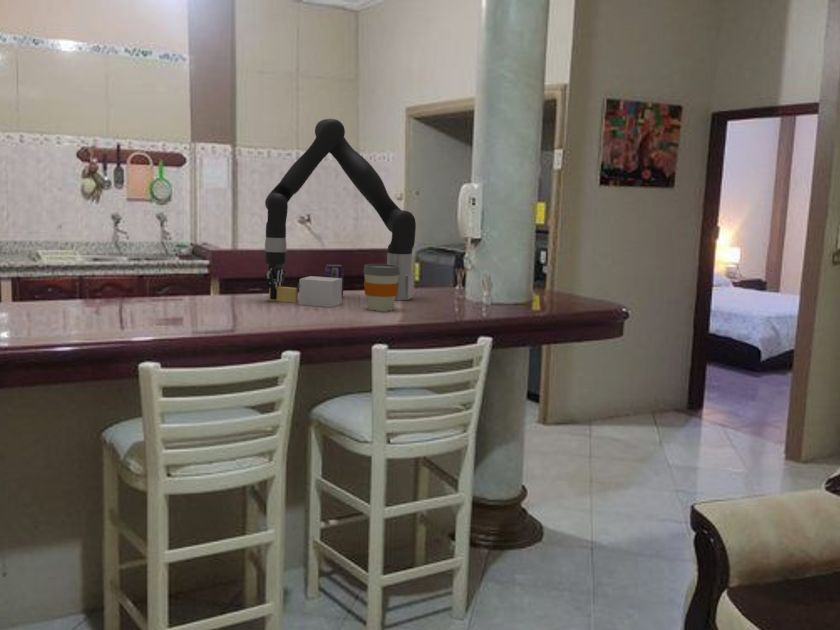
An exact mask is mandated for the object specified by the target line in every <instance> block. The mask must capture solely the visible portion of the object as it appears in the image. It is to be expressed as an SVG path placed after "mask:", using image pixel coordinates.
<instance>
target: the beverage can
mask: <svg viewBox="0 0 840 630" xmlns="http://www.w3.org/2000/svg"><path fill="white" fill-rule="evenodd" d="M344 273H345V272H344V268H343V265H342V264H338V263H337V264H335V263H334V264H331V263H329V264H326V265H325V268H324V277H329V278H342V297H343V295H344V278H345V277H344Z"/></svg>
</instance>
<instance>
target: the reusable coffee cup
mask: <svg viewBox="0 0 840 630" xmlns="http://www.w3.org/2000/svg"><path fill="white" fill-rule="evenodd" d="M362 273H363V274H364V275H363V276H364V281H363V285H364V295H365V297H366V306H367V307H366V308H367V310H370V311H374V310H376V311H375V312H389V311H388V310H391V311H393V310H394V308H395V302H396V301H395V296H397V291H398V285H399V283H398V278H399V275H400V268H399V266H397V265H389V264H387V263H386V264H385V263H367V264H364V267H363V272H362Z"/></svg>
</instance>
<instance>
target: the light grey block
mask: <svg viewBox="0 0 840 630" xmlns="http://www.w3.org/2000/svg"><path fill="white" fill-rule="evenodd" d="M297 288H298V291H299V292H298V305H300V306H310V307H311V306H312V307H321V308H322V307H324V308H334V307H337V306H338V305H341V304H342V297H343V296H342V278H329V277H325V276H314V275H313V276H312V275H309V276H305V277H302V278H299V283H297Z"/></svg>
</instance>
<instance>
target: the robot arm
mask: <svg viewBox="0 0 840 630" xmlns="http://www.w3.org/2000/svg"><path fill="white" fill-rule="evenodd" d="M345 134H346V130H345V127H344V124H343V123H342V122H341V121H340V120H338V119H335V118H326V119H322V120H320V121H318V122H317V124H315V128H314V135H315V139H314V140H313V141H312V143H311V144H310V146H309V147H308V148H307V150H306V151H305V152H303V154H302V155H301V156H300V157H299V158H298V159H297V160H296V161H295V162H294V163H293V164H292V166H290V168H288V171H287V172H286V173H285V174H284V176H283V177H282V178H281V180H280V182H278V183H277V185H276V186H275V187H274V188H273V189H272V190H271V191H270V192H269V193H268V195H267V196H266V198H265V201H264V205H265V208H266V209H267V222H266V225H265V239H264V263H265V264H266V265H268V267H267V268H268V269H267V272H264V279H265V283H266V287H267V288H270V299H274V300H275V299H276V298H277V286H278V287H283V285H284V280H285V276H286V270H284V269H283V265H286V264H287V238H286V237H287V224H286V223H287V219H288V207H289V204H288V203H289V202H290V200H291V199H292V197H293V196H295V195H296V194H297V193H298V192H299V191H300V190H301V188H302V187H303V186H304V184H305V183H306V182H307V180H308V179H309V178H310V176H311V175H312V174H313V172H314V171H315V170H316V168H317V167H318V166H319V164H320V163H321V162H322V161H323V160H324V158H325V157H327V155H328V154H330V155H331V156H332V157H333V158H334V159H335V160H336V161H337V163H338V164H339V165H340V167H341V169H342V171H343V172H344V173H345V174H346V176H347V177H348V178H349V179H350V181H351V183H352V184H353V185H354V187H356V189H357V190H358V192H360V194H361V195H362V196H363V197H364V199H365V200H366V201H367V202H368V203H369V204H370V205H371V206H372V207H373V208H374V210H375V211H376V212H377V214H378V216H379V217H380V220H382V222H383V224H384V225H385V227H386V228H387V230H388V231H389V232H390V233H391V241H390V243H389V244H388V245H387V259H386V260H387V261H386V264H389V265H397V266H399V268H400V275H399V278H398V283H399V285H398V291H397V296H395V300H396V301H409V300H411V299H412V297H413V280H414V279H413V278H414V277H413V273H412V268H413V267H412V264H413V263H412V261H413V248H414V246H415V242H416V230H417V229H416V228H417V227H416V225H417V223H416V218H415V216H414V215H413V213H411V211H408V210H402V209H401V208H400V207H399V206H398V205H397V204H396V203H395V201H393V199H392V198H391V197H390V195H389V193H388V190H387V189H386V186H385V184H384V181H383V180H382V178H381V176H380V175H379V173H378V172H377V171H376V170H375V169H374V167H373V166H372V165H371V164H370V163H369V161H368V160H366V158H364V157H363V156H362V155H360V153H358V152H357V150H355V149H354V148H353V147H352V146H351V145H350V144H349V142H348V141H347V138H346V137H345Z"/></svg>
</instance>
